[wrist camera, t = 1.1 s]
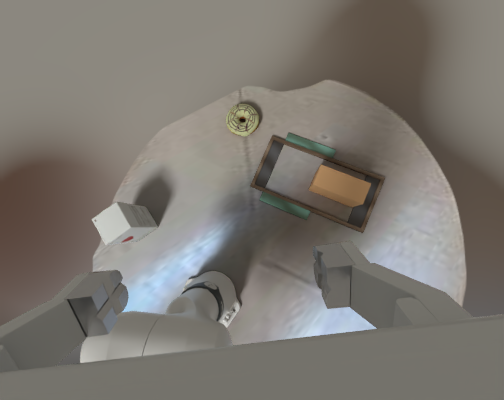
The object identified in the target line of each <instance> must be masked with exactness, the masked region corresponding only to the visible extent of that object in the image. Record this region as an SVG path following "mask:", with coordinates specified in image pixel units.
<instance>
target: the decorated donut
mask: <svg viewBox="0 0 504 400" xmlns="http://www.w3.org/2000/svg"><path fill="white" fill-rule="evenodd" d="M243 118H244V119H246V122H243V123H241V122H240V119H243ZM226 124H227V127H228V128H229V129H230V131H231V132H232V133H234V134H236V135H241V136H248V135H249V134H251V133H253V132H254V131H255V130H256V129H257V127H258V124H259V115H258V113H257V112H256V110H255V109H254V108H253V107H251V106H250V105H247V104H238V105H235V106H233V107H232V108H231V109H230V111H229V113H228V115H227V117H226Z"/></svg>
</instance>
